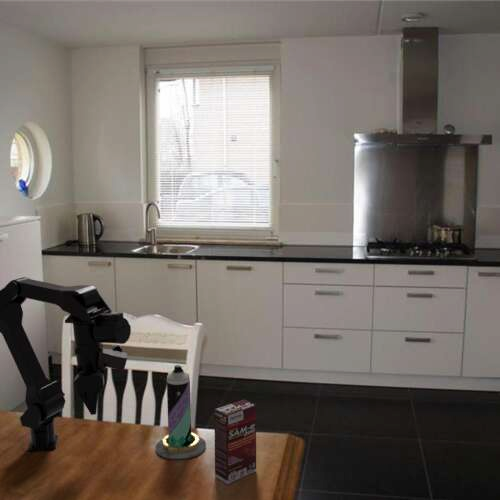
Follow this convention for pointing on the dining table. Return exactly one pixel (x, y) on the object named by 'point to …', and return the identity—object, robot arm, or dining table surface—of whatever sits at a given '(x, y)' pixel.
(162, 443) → the dock
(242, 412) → the supplement box
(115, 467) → the dining table surface
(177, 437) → the spray can
